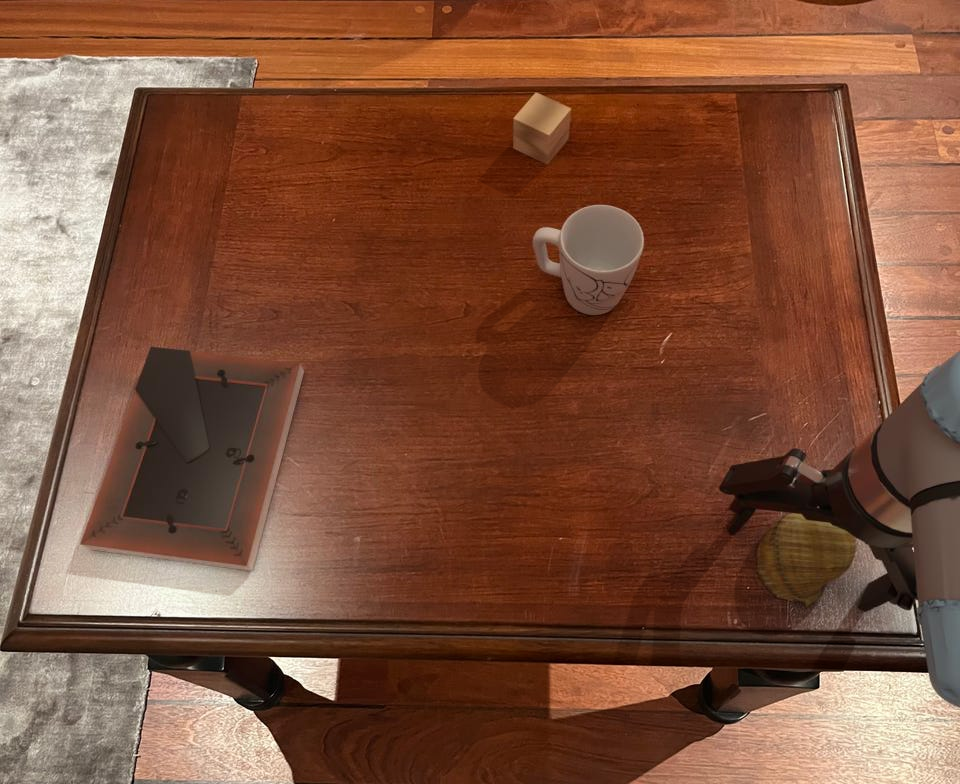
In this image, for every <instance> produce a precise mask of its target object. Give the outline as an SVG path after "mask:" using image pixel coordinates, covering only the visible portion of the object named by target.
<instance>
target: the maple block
mask: <svg viewBox="0 0 960 784" xmlns="http://www.w3.org/2000/svg"><path fill="white" fill-rule="evenodd" d="M571 118H572V108H571V107H569V106H567V105H565V104H562V103H561V102H558V101H556V100H554V99H551V98H550V97H548V96H546V95H543V94H541V93H538V92H535V93H534V94H533V95H532V96H531V97H530V98H529V100H528V101H527V102H526V103H525V104H524V105H523V107H522V108H521V109H520V110H519V111H518V112H517V113H516V114H515V116H514V117H513V119H512V120H513V122H512V123H513V124H512V125H513V128H512V141H513V142H512V149H513V150H515V151H518V152H519V153H522V154H524V155H526V156H528V157H530V158H532V159H534V160H536V161H539V162H540V163H542V164H544V165H546V166H549V164H550V163H551V161H552V160H553V159H554V157H555V156H556V155H557V154H558V153H559V152H560V150H561V149H562V148H563V147H564V145H565V144H566V143H567V142H568V140H569V138H570V128H571Z"/></svg>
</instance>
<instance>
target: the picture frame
mask: <svg viewBox="0 0 960 784" xmlns="http://www.w3.org/2000/svg"><path fill="white" fill-rule="evenodd" d="M304 374H305V370H304V368H303V366H302V364H301V362H292V361H285V360H273V359H264V358H254V357H247V356H246V357H245V356H238V355H237V356H236V355H228V354H219V353H209V352H201V351H200V352H199V351H191V350H187V349H178V348H177V349H176V348H167V347H157V346H150V348H149V351H148V353H147V355H146V359H145V362H144V363H143V365H142V369H141V372H140V374H139V377H138V380H137V382H136V385H135V387H134V394H133V396H132V399H131V402H130V404H129V408H128V411H127V413H126V415H125V419H124V422H123V425H122V427H121V430H120V432H119V436H118V438H117V441H116V444H115V447H114V449H113V452H112V455H111V458H110V460H109V463H108V466H107V468H106V471H105V473H104V477H103V480H102V483H101V486H100V488H99V491H98V493H97V496H96V499H95V502H94V505H93V507H92V510H91V513H90V516H89V519H88V521H87V524H86V527H85V530H84V533H83V534H82V538H81V540H80V543H79V545H81V546H83V547H84V548H86V549H88V550H94V551H101V552H106V553H107V552H108V553H115V554H123V555H131V556H137V557H146V558H153V559H160V560H167V561H168V560H169V561H175V562H181V563H182V562H183V563H191V564H199V565H206V566H214V567H222V568H227V569H237V570H244V571H252V572H253V570H254V567H255V563H256V560H257V555H258V551H259V548H260V544H261V540H262V537H263V532H264V528H265V525H266V521H267V517H268V513H269V509H270V505H271V501H272V498H273V493H274V491H275V490H274V489H275V486H276V482H277V478H278V475H279V470H280V466H281V463H282V458H283V456H284V455H283V454H284V452H285V447H286V443H287V440H288V435H289V432H290V427H291V423H292V420H293V417H294V412H295V409H296V405H297V402H298V397H299V393H300V389H301V385H302V382H303V377H304Z"/></svg>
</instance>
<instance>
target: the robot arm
mask: <svg viewBox="0 0 960 784" xmlns="http://www.w3.org/2000/svg"><path fill="white" fill-rule="evenodd" d="M806 458H807V454H806V452H805V451H803V450H801V449H799V448H795V447H793V448H791V449H790V450H789V451H788V452H786V453H785V454H784V455H781V456H776V457H770V458H765V459H759V460H753V461H749V462H743V463H737V464H732V465H730V466H729V469H728V470H727V472H726V474H725V476H724V478H722V481H721V483H720V485H719V486H718V489H719V491H720V492H722V494H724V495H728V496H734V497H733V499H732V501H731V503H730V504H729V506H728V509H729V511H731V512H732V513H734V514H735V515H734V518H733V520H732V521H731V523H730V525H729V527H728V529H727V530H726V531H727V533H729V534H731V535H732V536H735V535H736V534H737V533H738V532H739V531H740V530H741V529H742V528H743V526H744V525H745V524H746V523H748V521H750V519H751V518H753V516H754V514H755V512H756V511H757V510H760V511H761V510H762V511H771V512H778V513H779V512H780V513H786V514H787V513H788V514H791V513H796V514H802V515H803V517H804V518H805V519H806V520H811V521H819V522H828V523H831V525H833V526H836V527H839V528H841V529H843V530H845V531H847V532H848V533H850V534H851V535H853V536H854V537H855V539H858V540H859V541H861V542H863V543H864V544H865V545H867V546H868V548H869V549H870V551H871V553H872V555H873V557H874V559H875V560H878V561H881V563H882V565H883V567H884V569H885V571H886V573H885V574H883V575H881V576H879V577H876V578H875V579H873V580H871V581H870V582H868V583H867V586H866V588H865V590H864V592H863V594H862V597H861V599H860V601H859V603H858V605H857V607H856V608H857V609H858V610H859V611H862V612H863V613H867V612H870V611H871V610H874V609H876V608H878V607H879V606H882V605H884V604H886V603H890V604H891V605H893V606H897V607H899V608H900V609H902V610H904V611H912V609H913V606H914V604H915V602H916V601H917V607H916V620H917V622H918V625H919V626H920V629H921V635H922V641H923V648H924V655H925V659H926V665H927V672H928V677H929V682H930V684H931V687H932V689H933V690H934V692H935V693H936V694H937V695H938V696H939V698H941V699H942V700H944V702H947V703H948V704H950V705H951V706H954V707H957V708H958V709H960V350H959V351H957V352H956V353H955V354H953V355H952V356H950V357H949V358H948V359H947V360H945V361H944V362H942V364H940V365H937V366H935V367H933V368H932V369H931V370H929V371H928V372H927V374H926V375H925V376H924V378H923V380H922V382H921V383H920V384H919V385H917V386H916V388H914V390H913V391H912V392H911V393H910V394H909V395H907V397H906V398H905V399H904V400H903V401H902V402H901V403H900V404H899V405H897V407H896V408H895V409H894V410H892V412H891V413H889V415H888V416H887V417H885V419H884V420H883V421H882V422H881V423H880V424H878V425H877V426H876V427H875V428H874V429H873V430H872V431H871V432H870V433H869V434H867V436H866V437H864V439H862V440H861V441H860V442H859V443H858V444H857V445H856V446H855V447H854V448H853V449H852V450H850V452H848V453H847V454H846V455H845V457H844V458H842V459H841V460H840V461H839V462H838V463H837V464H836V465H835V466H834V467H833V468H832V469H824V470H821V471H819V470H817V469H815V468H813V466H810V465H808V464H807V462H806V461H805V459H806ZM818 506H819V508H817V507H818Z"/></svg>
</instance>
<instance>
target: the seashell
mask: <svg viewBox="0 0 960 784" xmlns="http://www.w3.org/2000/svg"><path fill="white" fill-rule="evenodd" d="M817 508H819V506H818V507H817ZM856 539H857V538H856V537H854V536H853V535H851V534H850V533H848V532H847V531H845V530H843V529H841V528H839V527H836V526H833V525H831V523H828V522H819V521H811V520H806V519H805V518H804V517H803V515H802V514H796V513H788V514H786V515H783V516H781V517H780V518H779V519H778V520H776V521H774V522H773V524H772V525H771V526H769V527H768V528H767V531H766V532H765V533H764V534H763V535H762V538H761V539H760V540H759V544H758V545H757V550H756V553H755V554H756V558H755V561H756V567H757V569H756V571H757V574H758V577H759V579H760V581H761V582H762V584H763V585H764V587H765V589H766V590H768V591H769V593H770V594H771V595H773V596H774V597H775V598H777V599H780V600H786V601H788V602H801V603H802V604H803V605H804V606H805V608H808V607H809V606H811V604H812V603H814V602H815V601H816V600H818V599H819V597H820V596H821V594H822V587H823V586H825V585H826V584H828V583H831V582H833V581H835V580H836V579H838V578H840V577H841V576H842V575H844V574H845V573H846V572H847V571H848V570H849V569H850V567H851V566H852V563H853V561H854V558H855V557H856V551H857V543H856Z"/></svg>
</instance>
